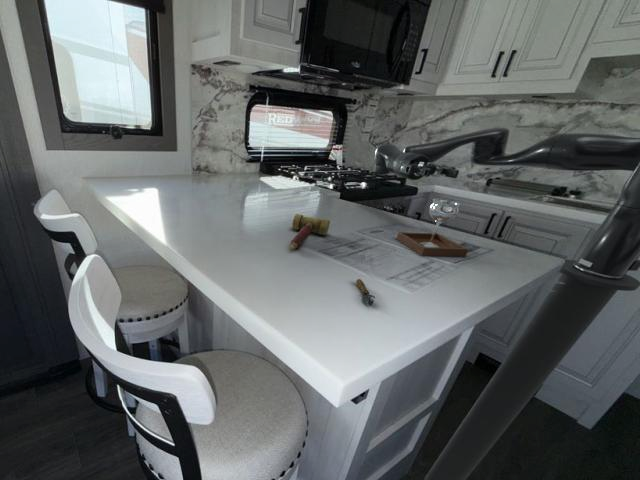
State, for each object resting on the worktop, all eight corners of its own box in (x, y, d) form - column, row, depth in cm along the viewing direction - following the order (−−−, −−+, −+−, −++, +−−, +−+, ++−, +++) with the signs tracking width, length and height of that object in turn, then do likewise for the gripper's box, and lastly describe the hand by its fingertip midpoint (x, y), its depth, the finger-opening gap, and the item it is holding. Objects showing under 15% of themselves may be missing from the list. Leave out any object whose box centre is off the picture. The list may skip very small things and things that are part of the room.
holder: (435, 240, 92) (438, 233, 91) (465, 256, 81) (468, 249, 80) (396, 238, 91) (398, 232, 90) (421, 255, 80) (424, 248, 79)
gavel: (313, 243, 73) (274, 235, 76) (310, 260, 75) (272, 252, 79) (330, 217, 89) (297, 211, 92) (327, 232, 91) (295, 226, 95)
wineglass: (413, 244, 85) (429, 200, 79) (419, 239, 90) (435, 197, 84) (440, 251, 82) (459, 206, 76) (445, 245, 86) (463, 202, 80)
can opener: (355, 283, 63) (356, 278, 63) (366, 284, 63) (368, 279, 62) (363, 305, 56) (365, 300, 55) (376, 307, 55) (378, 302, 55)
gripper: (393, 152, 98) (424, 157, 84) (434, 154, 99) (471, 160, 85) (386, 176, 101) (415, 186, 88) (425, 178, 103) (460, 188, 89)
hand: (443, 173), depth 86 cm, fingers open, 8 cm apart
